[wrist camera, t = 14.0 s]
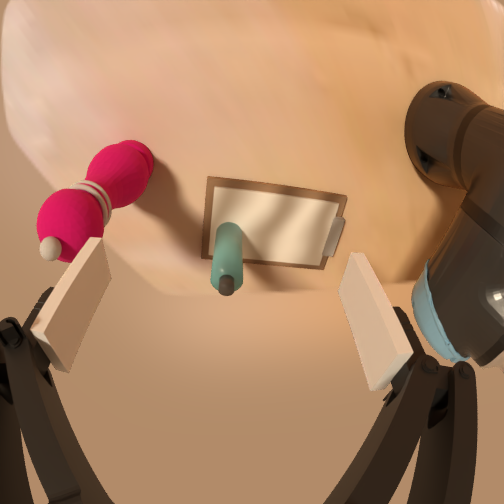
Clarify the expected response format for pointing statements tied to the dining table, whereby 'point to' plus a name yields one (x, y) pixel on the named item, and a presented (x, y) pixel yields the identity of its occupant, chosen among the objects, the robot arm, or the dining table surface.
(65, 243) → the pepper mill
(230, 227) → the bottle
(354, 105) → the dining table surface
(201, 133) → the dining table surface
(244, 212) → the clipboard
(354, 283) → the robot arm
